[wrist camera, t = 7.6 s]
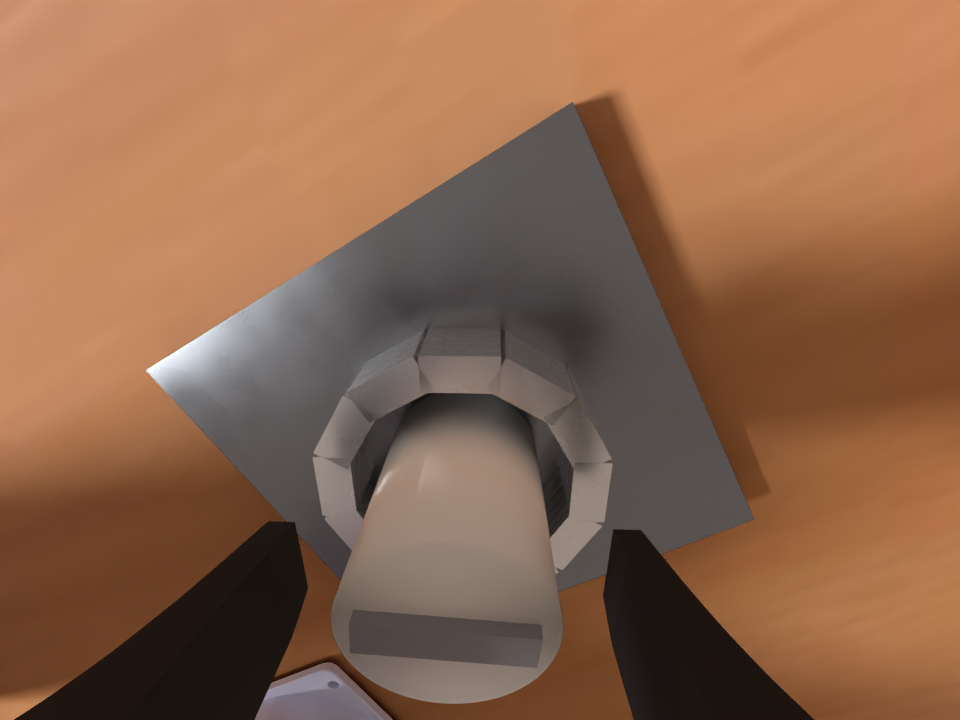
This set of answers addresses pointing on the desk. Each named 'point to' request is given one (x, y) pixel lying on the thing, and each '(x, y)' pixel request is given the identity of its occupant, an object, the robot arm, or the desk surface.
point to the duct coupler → (453, 559)
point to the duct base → (473, 361)
